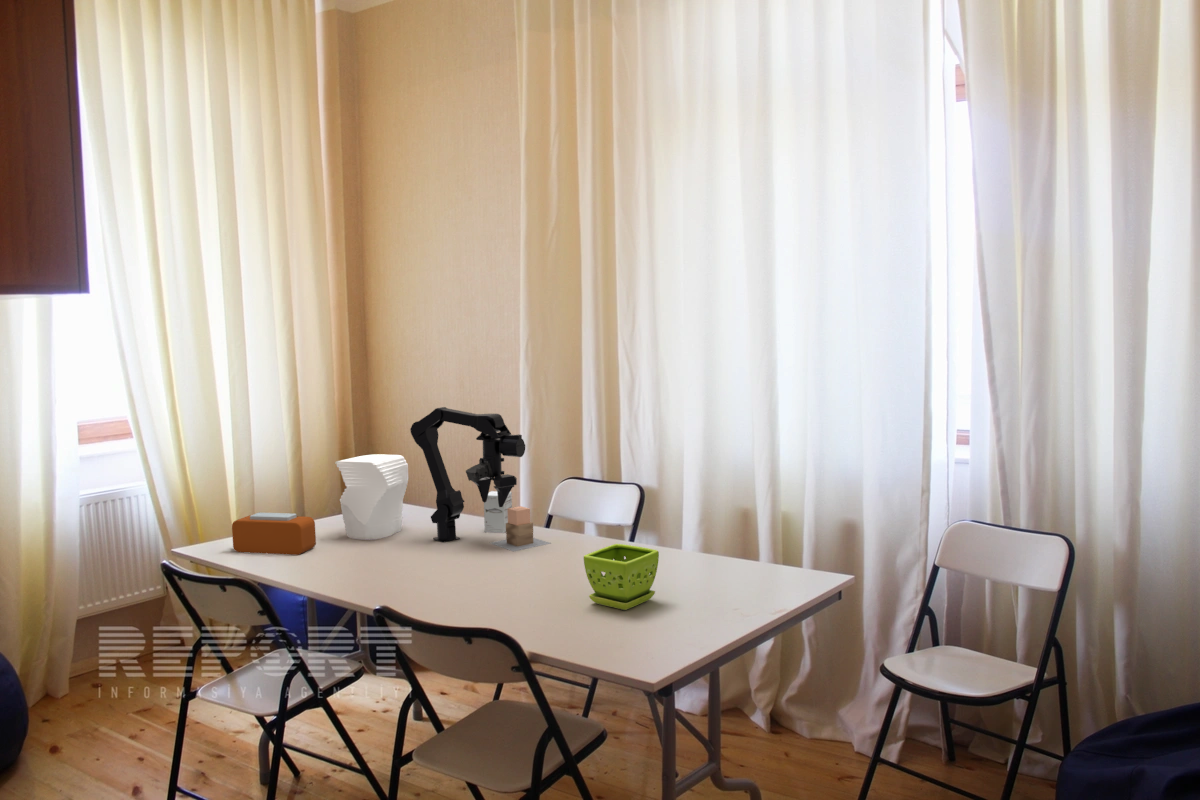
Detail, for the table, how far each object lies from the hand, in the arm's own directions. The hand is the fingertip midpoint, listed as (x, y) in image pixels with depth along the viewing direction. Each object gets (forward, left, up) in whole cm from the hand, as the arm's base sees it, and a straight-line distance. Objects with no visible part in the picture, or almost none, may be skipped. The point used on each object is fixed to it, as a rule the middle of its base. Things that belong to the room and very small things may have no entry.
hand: (492, 504), depth 288 cm
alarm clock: (-42, -53, -13) cm, 69 cm away
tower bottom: (+5, +6, -12) cm, 15 cm away
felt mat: (+5, +6, -13) cm, 15 cm away
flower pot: (+71, -8, -13) cm, 73 cm away
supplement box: (-15, +11, -13) cm, 22 cm away
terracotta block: (+5, +6, -6) cm, 10 cm away
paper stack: (-38, -19, -13) cm, 45 cm away
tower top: (+5, +6, -9) cm, 12 cm away
